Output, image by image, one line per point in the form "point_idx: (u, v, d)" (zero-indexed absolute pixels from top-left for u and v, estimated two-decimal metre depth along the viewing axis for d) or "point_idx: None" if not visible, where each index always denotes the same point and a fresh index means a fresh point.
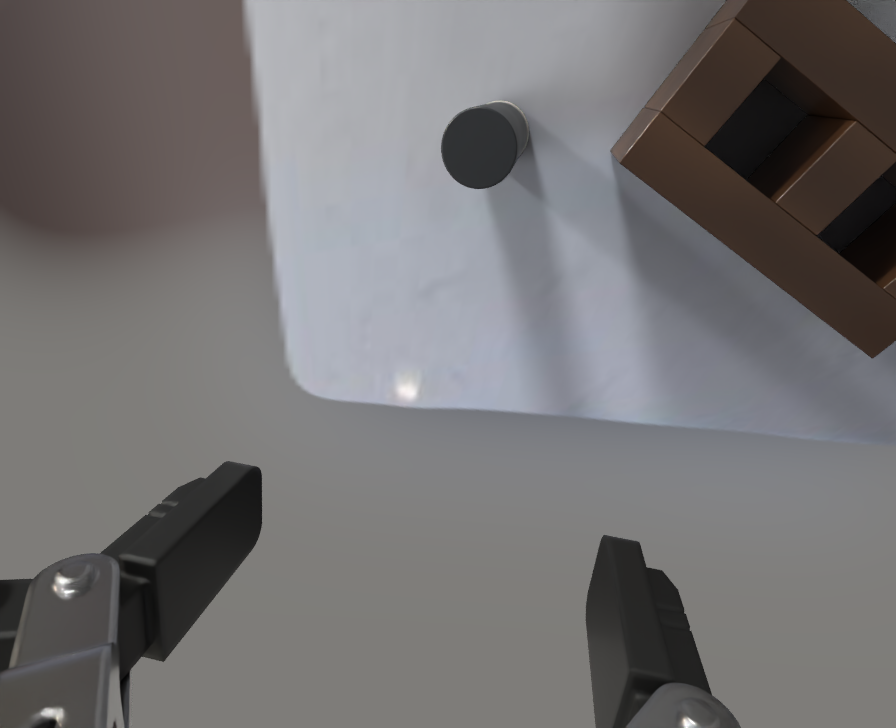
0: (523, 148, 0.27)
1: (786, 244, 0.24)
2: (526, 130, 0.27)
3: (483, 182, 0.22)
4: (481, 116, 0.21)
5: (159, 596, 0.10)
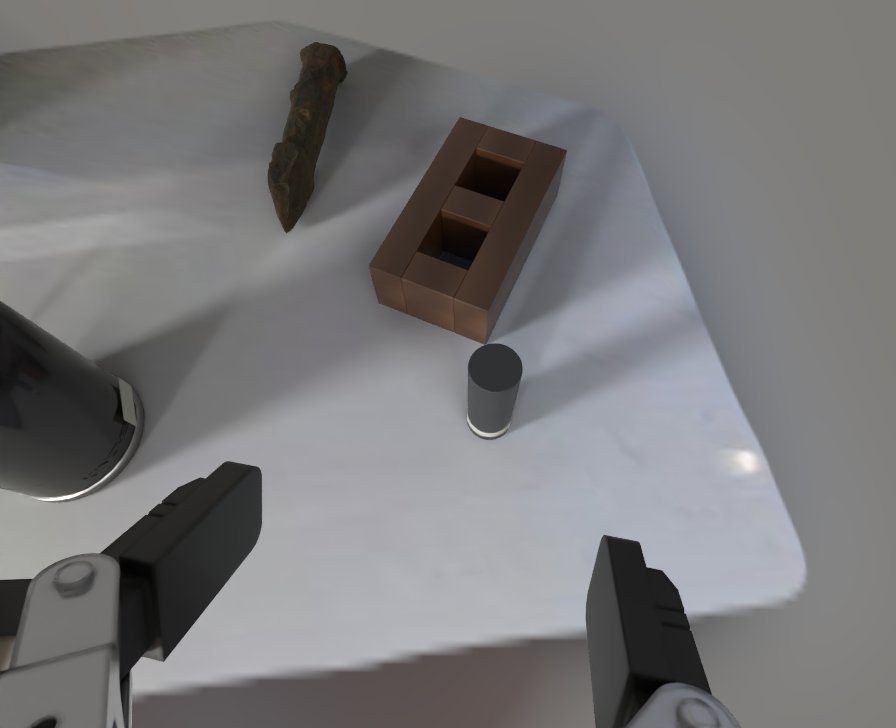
0: None
1: (513, 212, 0.39)
2: None
3: (516, 360, 0.30)
4: (474, 369, 0.30)
5: (159, 596, 0.10)
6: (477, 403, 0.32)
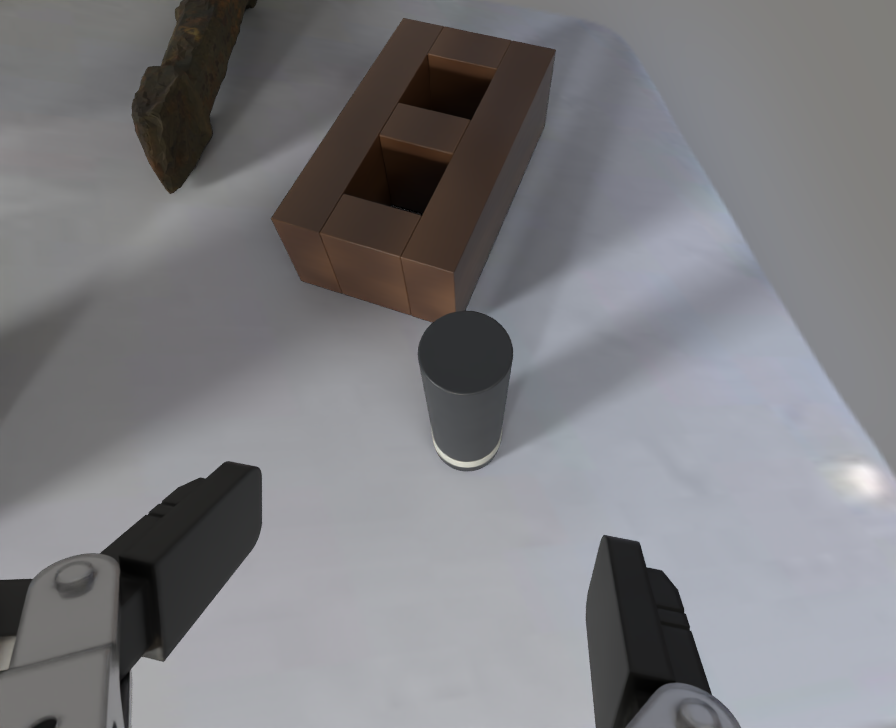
0: None
1: (484, 133, 0.27)
2: None
3: (501, 336, 0.17)
4: (428, 356, 0.17)
5: (159, 596, 0.10)
6: (441, 415, 0.19)
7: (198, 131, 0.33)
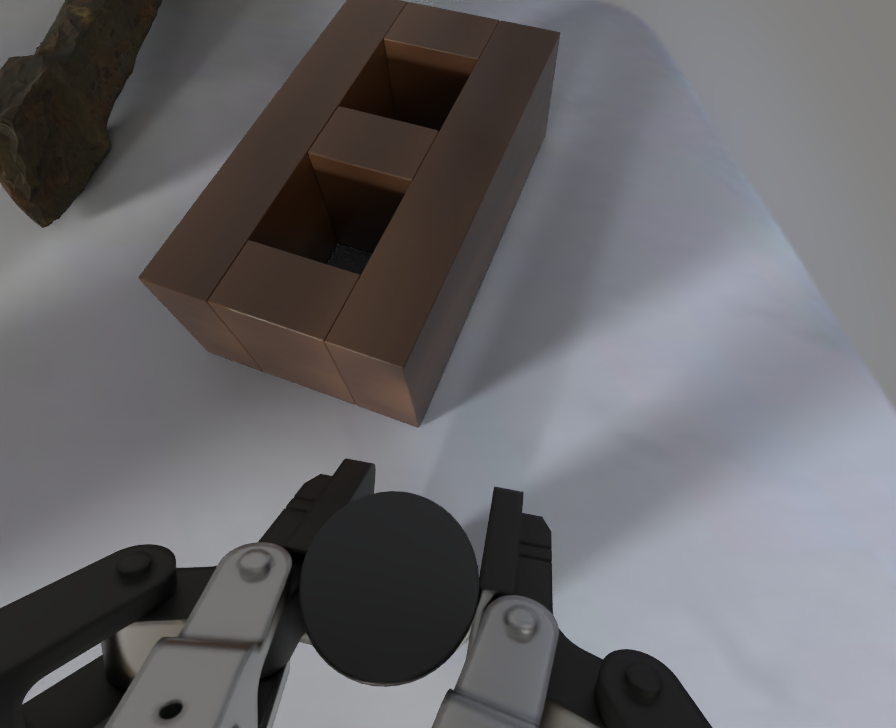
0: None
1: (458, 149, 0.19)
2: None
3: (458, 550, 0.09)
4: (317, 593, 0.09)
5: None
6: None
7: (85, 143, 0.25)
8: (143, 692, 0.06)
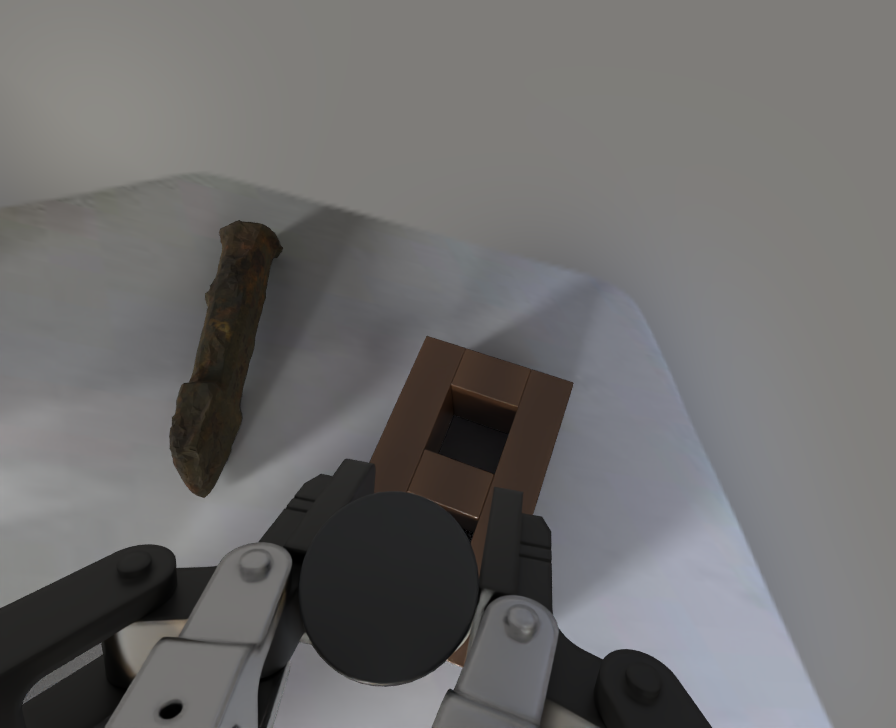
0: None
1: None
2: None
3: (457, 549, 0.09)
4: (317, 592, 0.09)
5: None
6: None
7: (230, 430, 0.34)
8: (143, 692, 0.06)
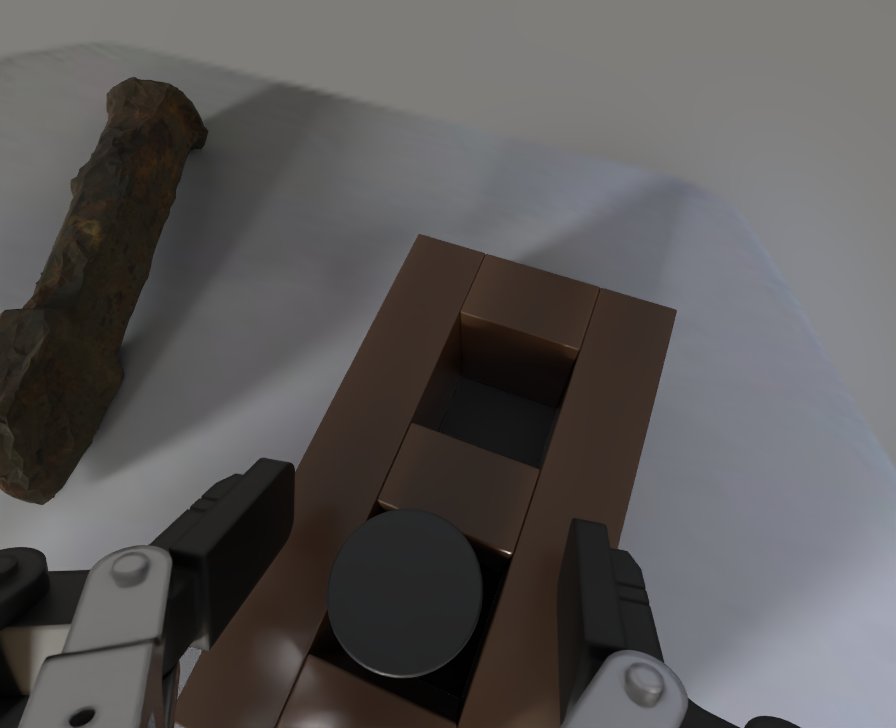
0: None
1: (568, 505, 0.15)
2: None
3: (464, 560, 0.11)
4: (343, 597, 0.10)
5: (206, 587, 0.10)
6: None
7: (93, 393, 0.21)
8: (44, 710, 0.06)
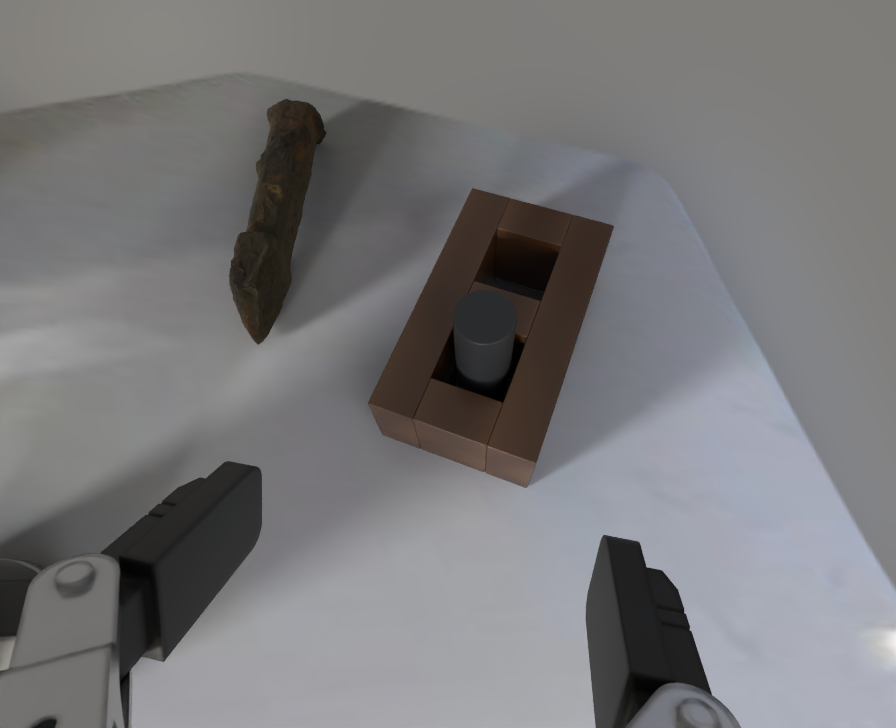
0: None
1: (554, 315, 0.30)
2: None
3: (509, 306, 0.26)
4: (460, 319, 0.25)
5: (159, 596, 0.10)
6: (467, 364, 0.27)
7: (282, 284, 0.36)
8: (0, 725, 0.06)
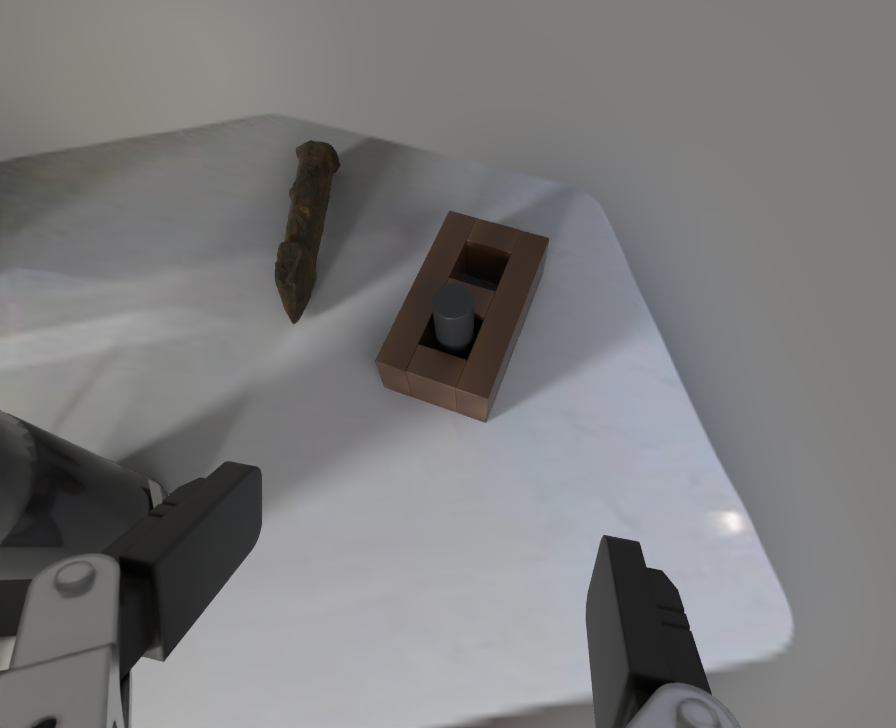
0: None
1: (504, 301, 0.43)
2: None
3: (469, 294, 0.39)
4: (436, 303, 0.38)
5: (159, 596, 0.10)
6: (442, 333, 0.40)
7: (310, 280, 0.49)
8: (0, 725, 0.06)
